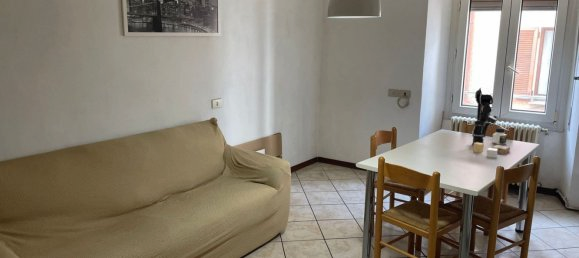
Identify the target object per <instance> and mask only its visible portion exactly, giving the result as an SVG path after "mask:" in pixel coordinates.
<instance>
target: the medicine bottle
mask: <svg viewBox="0 0 579 258" xmlns="http://www.w3.org/2000/svg"><path fill="white" fill-rule="evenodd" d="M505 132H506V129H505V128H504V127H501V126H500V127H496V128H495V133H492V140H491V142H492V144H495V145H506V144H507V139H508V134H505Z"/></svg>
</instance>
